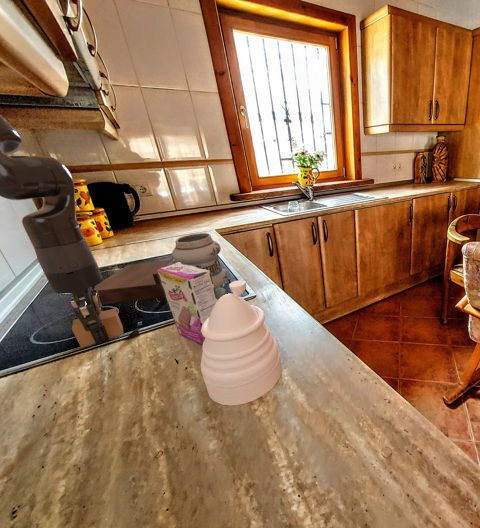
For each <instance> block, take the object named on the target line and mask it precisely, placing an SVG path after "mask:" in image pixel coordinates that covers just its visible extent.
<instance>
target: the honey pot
mask: <svg viewBox="0 0 480 528" xmlns="http://www.w3.org/2000/svg"><path fill="white" fill-rule="evenodd" d="M228 287H229V289H230V292H231V293H228V294H225V295H223V296H222V297H220V298H219V299H218V301H217V302H216V304H215V305H214V307H213V309H212V311H211V314H210V317H209V318H208V319H207V320H206V321H205V322H204V323H203V325H202V328H201V332H202V335H203V336H204V337H205V341H204V342H203V345H202V348H201V350H202V353H201V359H200V365H199V366H200V368H199V369H200V371H201V374H202V378H203V382H204V384H205V387H206V391H207V394H208V397H209V398H210V399H211V400H212V401H213V402H214V403H217V404H218V405H222V406H239V405H240V406H241V405H244V404H248V403H250V402H254V401H255V400H258V399H260V398H261V397H263V396H264V395H266V394H268V392H270V391H271V390H272V389H273V388H274V387H275V386H276V385H277V383H278V382H279V380H280V378H281V376H282V371H283V365H282V360H281V355H280V350H279V349H280V348H279V344H278V341H277V339H276V338H275V336H274V335H273V333H272V332H271V330H270V326H268V325H267V323H265V320H266V315H265V311H264V310H263V309H262V308H260V307H259V306H256V305H252V304H250V303H249V302H248V301H247V300H245V299H244V298H243V297H242V296H240V295H242V294H244V292H245V291H246V289H247V281H246V280H243V279H239V280H234V281H232V282H230V283H229V284H228Z"/></svg>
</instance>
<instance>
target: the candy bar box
mask: <svg viewBox="0 0 480 528" xmlns="http://www.w3.org/2000/svg"><path fill="white" fill-rule="evenodd" d="M157 272H158V274H159V277H160V280H161V283H162V286H163V289H164V292H165V295H166V298H167V301H168V302H167V304H168V306H169V309H170V312H171V315H172V318H173V321H174V324H175V328H176V331H177V333H178V335H180V336H183V337H184V338H186V339H189V340H191V341H193V342H195V343H197V344H199V345H201V346H203V342H204V341H205V337H204V336H203V335H202V332H201V328H202V325H203V323H204V322H205V321H206V320H207V319H208V318H209V317H210V314H211V311H212V309H213V307H214V305H215V304H216V302H217V301H218V300H217V297H216V293H215V289H214V285H213V282H212V277H211V274H210V271H209V270H205V269H202V268H198V267H194V266H191V265H187V264H184V263H180V262H178V263H175V264H172V265H168V266H166V267H162V268H160V269H158V270H157Z"/></svg>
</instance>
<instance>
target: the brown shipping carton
mask: <svg viewBox="0 0 480 528" xmlns="http://www.w3.org/2000/svg"><path fill="white" fill-rule="evenodd" d="M102 311H103V312H102V314H101V315H100V316H101V319H102V322H104V324H103V325H104V327H105V330H106V332H107V334H108V336H109V339H111V338H115V337H118V336H121V335H124V326H123V323H122V321H121V318H120V316H119V314H118V311H117V309H116V307H114V308H110V309H107V310H102ZM93 322H96V321H95V320H93V321H90V322H89V323H93ZM71 330H72V333H73V334H74V336H75V338H76V340H77V342H78V344H79V346H80V348H81V349H83V348H85V347H88V346H90V345H94V344H96V343H95V341H94V339H93V337H92V335H91V332H90V331H86V330H85V329H84V327H83V325H82V323H81V322H80V320H79V318H74V319H73V320H72V325H71ZM140 335H141V334H140V330H139V326H138V325H137V326H136V327H135V328H134V329H133V330H132V331H131V333H129V334H128V336H127V337H126V338H125V339H124V340H123V342H127V341H129V340H132V339H135V338H137V337H140Z"/></svg>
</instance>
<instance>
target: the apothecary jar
mask: <svg viewBox="0 0 480 528" xmlns="http://www.w3.org/2000/svg"><path fill="white" fill-rule="evenodd" d="M174 244H175V247H174V248H173V250H172V251H171V259H172V258H173V259H174V260H175V261H177V262H180V263H184V264H187V265H191V266H194V267H198V268H202V269H205V270H209V271H210V274H211V277H212V282H213V285H214V289H215V293H216V297H217V300H218V299H219V298H220V297H222V296H223V295H225V294H227V293H228V294H229V292H228V289H226V288H224V287H222V286H223V285H225V284H226V282H227V280H228V278H229V273H228V271H227V270H226V269H225V268H223V267H222V265H221V262H220V259H219V254H220V252H221V250H222V247H221V245H220V243H218V242H217V241H215V240H213V238H212V235H211V234H210V233H209V232H208V233H207V232H201V233H200V232H199V233H192V234H187V235H184V236H181V237H178V238H176V239H175V242H174Z"/></svg>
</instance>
